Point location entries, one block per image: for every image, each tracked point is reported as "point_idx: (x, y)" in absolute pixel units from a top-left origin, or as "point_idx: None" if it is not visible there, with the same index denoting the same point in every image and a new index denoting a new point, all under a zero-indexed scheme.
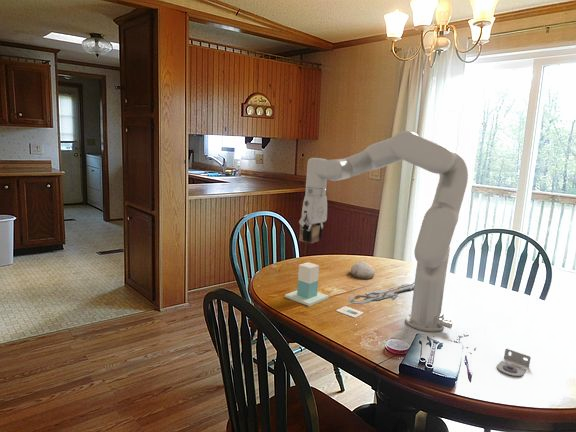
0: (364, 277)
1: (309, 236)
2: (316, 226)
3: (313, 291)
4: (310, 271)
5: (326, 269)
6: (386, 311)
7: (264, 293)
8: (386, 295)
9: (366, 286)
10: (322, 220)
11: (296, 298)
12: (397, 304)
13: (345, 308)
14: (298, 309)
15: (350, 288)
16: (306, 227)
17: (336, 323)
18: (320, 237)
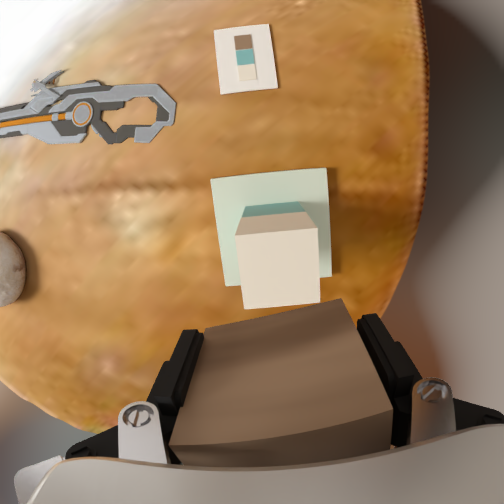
0: (12, 241)
1: (391, 341)
2: (277, 438)
3: (269, 207)
4: (310, 224)
5: (62, 352)
6: (146, 14)
7: None
8: (52, 98)
9: (40, 191)
10: (176, 494)
11: (327, 228)
12: (79, 41)
13: (239, 78)
14: (369, 172)
15: (86, 204)
16: (463, 416)
17: (346, 36)
18: (192, 337)
